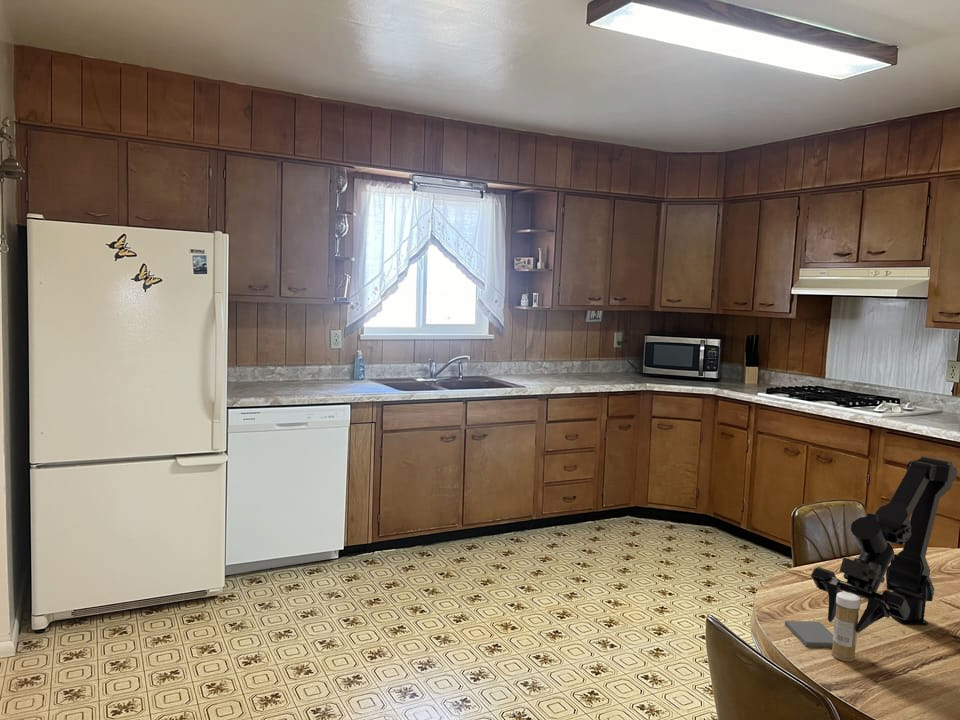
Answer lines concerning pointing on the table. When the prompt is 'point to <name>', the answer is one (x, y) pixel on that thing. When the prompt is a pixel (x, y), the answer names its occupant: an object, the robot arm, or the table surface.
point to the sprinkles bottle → (845, 626)
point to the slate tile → (811, 633)
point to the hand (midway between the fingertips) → (842, 626)
